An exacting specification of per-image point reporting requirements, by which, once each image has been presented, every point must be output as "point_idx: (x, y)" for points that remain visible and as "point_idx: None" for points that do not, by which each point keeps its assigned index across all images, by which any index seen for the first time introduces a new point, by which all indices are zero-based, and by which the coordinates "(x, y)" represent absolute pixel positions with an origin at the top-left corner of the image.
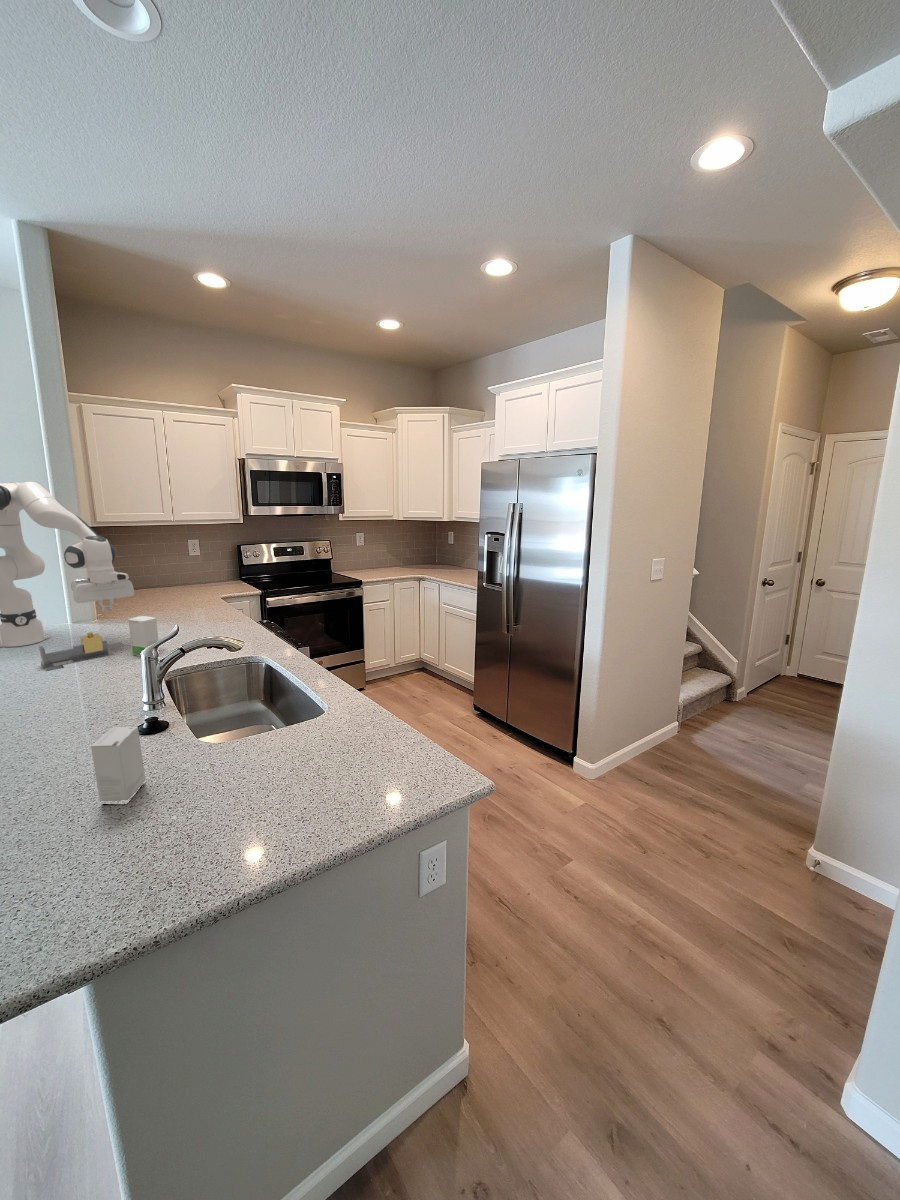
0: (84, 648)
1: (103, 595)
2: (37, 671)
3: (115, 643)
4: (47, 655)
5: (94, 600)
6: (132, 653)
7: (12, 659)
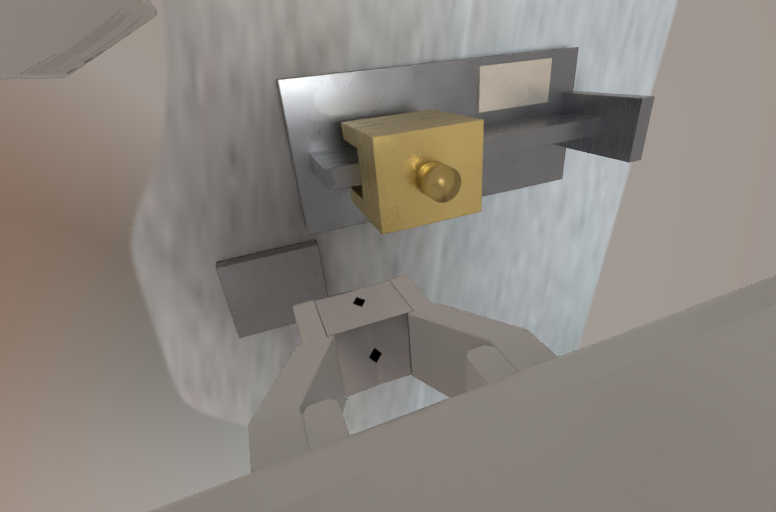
0: (447, 113)
1: (593, 491)
2: (586, 73)
3: (265, 324)
4: (588, 118)
5: (679, 317)
6: (151, 3)
7: (584, 305)
